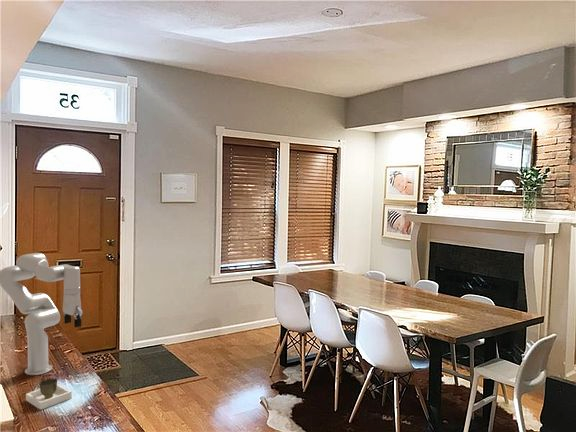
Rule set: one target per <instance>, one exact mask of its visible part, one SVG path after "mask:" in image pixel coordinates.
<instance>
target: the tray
mask: <svg viewBox="0 0 576 432" xmlns="http://www.w3.org/2000/svg"><path fill="white" fill-rule="evenodd" d="M72 392H73V391H71V390H69V389H68V388H66V387H63V386H62V385H60V384H58V383H57V388H56V391H55V393H54V394H53V397H52V398H50V399H45V398H44V395H42V394H41V391H40V388H39V389H36V390H33V391H31V392H27V393H25V401H26V402H28V403H29V404H31V405H32V406H34V407H35V408H37V409H38V410H43V409H46V408H49V407H51V406H53V405H57V404H60V403H62V402H66V401H68V400H71V399H72V396H73V395H72Z"/></svg>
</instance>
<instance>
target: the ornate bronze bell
mask: <svg viewBox="0 0 576 432" xmlns="http://www.w3.org/2000/svg"><path fill="white" fill-rule="evenodd" d="M38 384H39V389H40V391H41V394H42V395H44V398H45V399H50V398H52V397H53V394H54V393H55V391H56V388H57V384H58V378H56V377H55V378H54V377H49V378H44V379H40V381H39V383H38Z"/></svg>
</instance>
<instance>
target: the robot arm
mask: <svg viewBox="0 0 576 432" xmlns="http://www.w3.org/2000/svg"><path fill="white" fill-rule="evenodd" d="M15 263H16V265H10V266H6V267H3V268H2V269H1V270H0V286H1V288H2V289H3V291H4V292H5V293H6V294H7V295H8V296H9V297H10V299H11V300H12V302H13V303H14V305H15V306H16V307H17V309H18V311H19V312H20V313H21V314H23V315H27V316H26V317H25V319H24V325H25V330H26V339H27V340H26V341H27V368H25V370H24V373H25V374H26V375H27V376H38V375H44V374H47V373H49V372H50V371H52V365H51V364H49V336H48V334H47V332H46V331H45V329H46V328H49V327H53V326H55V325H58V324H59V323H60V321H61V314H60V311H59V309H58V308H57V306H56V305H55V303H54V301H52V299H51V297H50V296H49V295H48V294H46V293H44V292H38V293H30V291H29V289H28V288H27V287H25V285H23V284H22V283H19V282H20V281H25V280H30V279H32V278H34V277H35V278H36V279H37V280H40V281H42V282H46V283H53V282H58V281H62V280H63V297H62V312H63V316H64V318H63V320H64V322H63V323H64V325H65V324H70V323H72V316H73V317H74V320H73V321H74V323H73V325H74V328H78V327H81V326H82V319H83V318H82V317H83V313H84V312H83V310H82V302H81V301H82V299H81V269H80V267H79V266H75V265H70V264H65V263H64V264H59V265H52V266H49V261H48V259H47V257H46V256H45V254H44V253H41V252H33V253H27V254H23V255H20V256H19V257H17V259H16V262H15Z"/></svg>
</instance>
